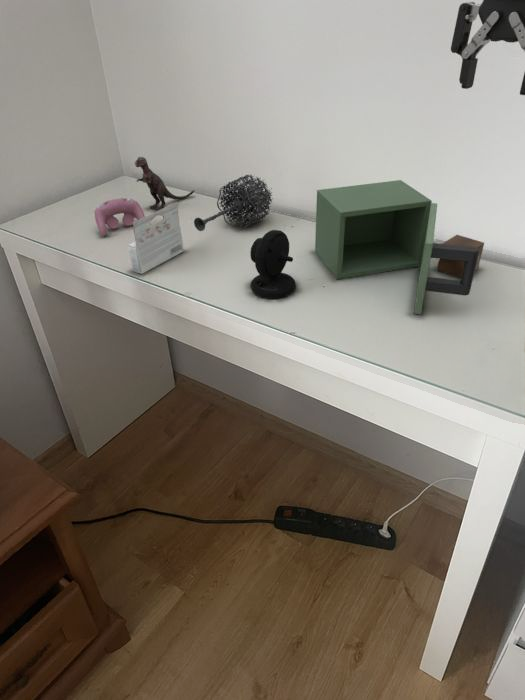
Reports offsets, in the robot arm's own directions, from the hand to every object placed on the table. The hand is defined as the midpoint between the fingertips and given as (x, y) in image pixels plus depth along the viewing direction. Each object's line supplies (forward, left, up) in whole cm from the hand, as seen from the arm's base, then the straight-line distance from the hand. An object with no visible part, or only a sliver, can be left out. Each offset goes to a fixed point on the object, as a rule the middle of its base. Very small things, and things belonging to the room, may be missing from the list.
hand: (494, 91), depth 74 cm
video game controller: (+60, +29, -28) cm, 72 cm away
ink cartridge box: (+41, +33, -28) cm, 60 cm away
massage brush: (+42, +13, -28) cm, 52 cm away
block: (0, 0, -28) cm, 28 cm away
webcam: (+19, +26, -28) cm, 43 cm away
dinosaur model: (+64, +14, -28) cm, 71 cm away
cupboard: (+14, +7, -28) cm, 32 cm away
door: (-2, +9, -28) cm, 29 cm away
